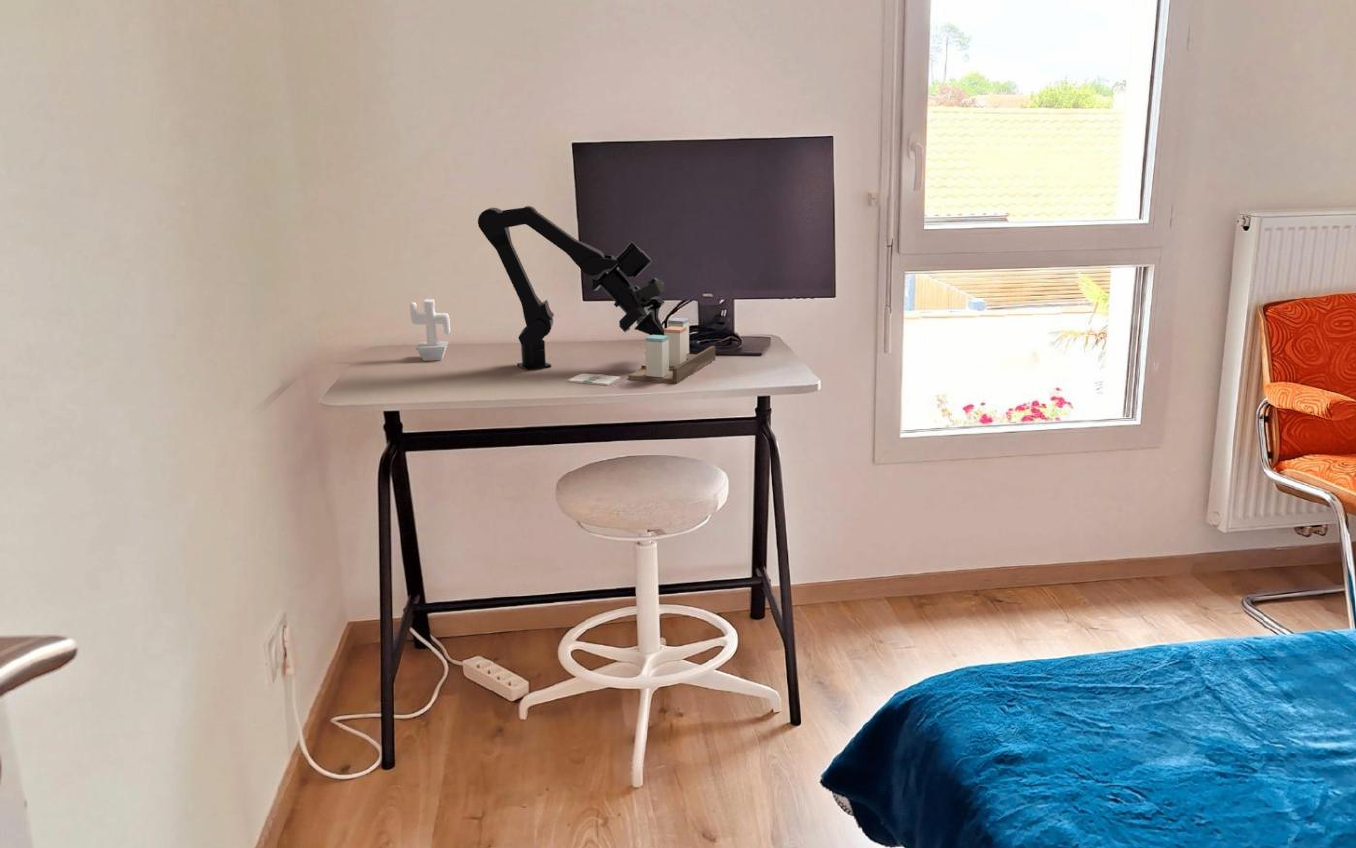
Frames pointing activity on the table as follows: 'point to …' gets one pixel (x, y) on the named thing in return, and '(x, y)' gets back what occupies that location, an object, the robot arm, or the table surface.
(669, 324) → the grey topped white block
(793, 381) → the table surface
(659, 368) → the white tall block
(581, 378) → the pattern card
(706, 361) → the brown divided rack
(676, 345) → the peach block
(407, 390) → the table surface
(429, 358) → the figurine
